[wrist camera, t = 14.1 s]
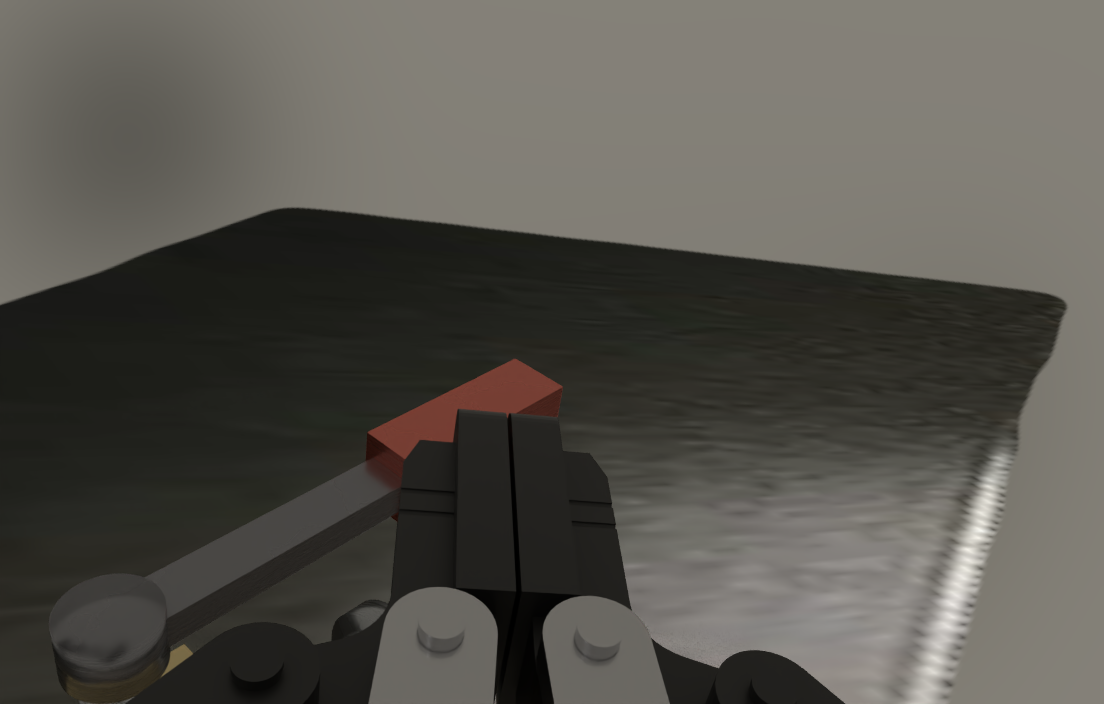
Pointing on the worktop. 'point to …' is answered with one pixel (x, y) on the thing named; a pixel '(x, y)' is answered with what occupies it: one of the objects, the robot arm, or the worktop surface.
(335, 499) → the lever
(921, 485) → the worktop surface
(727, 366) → the worktop surface
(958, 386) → the worktop surface
